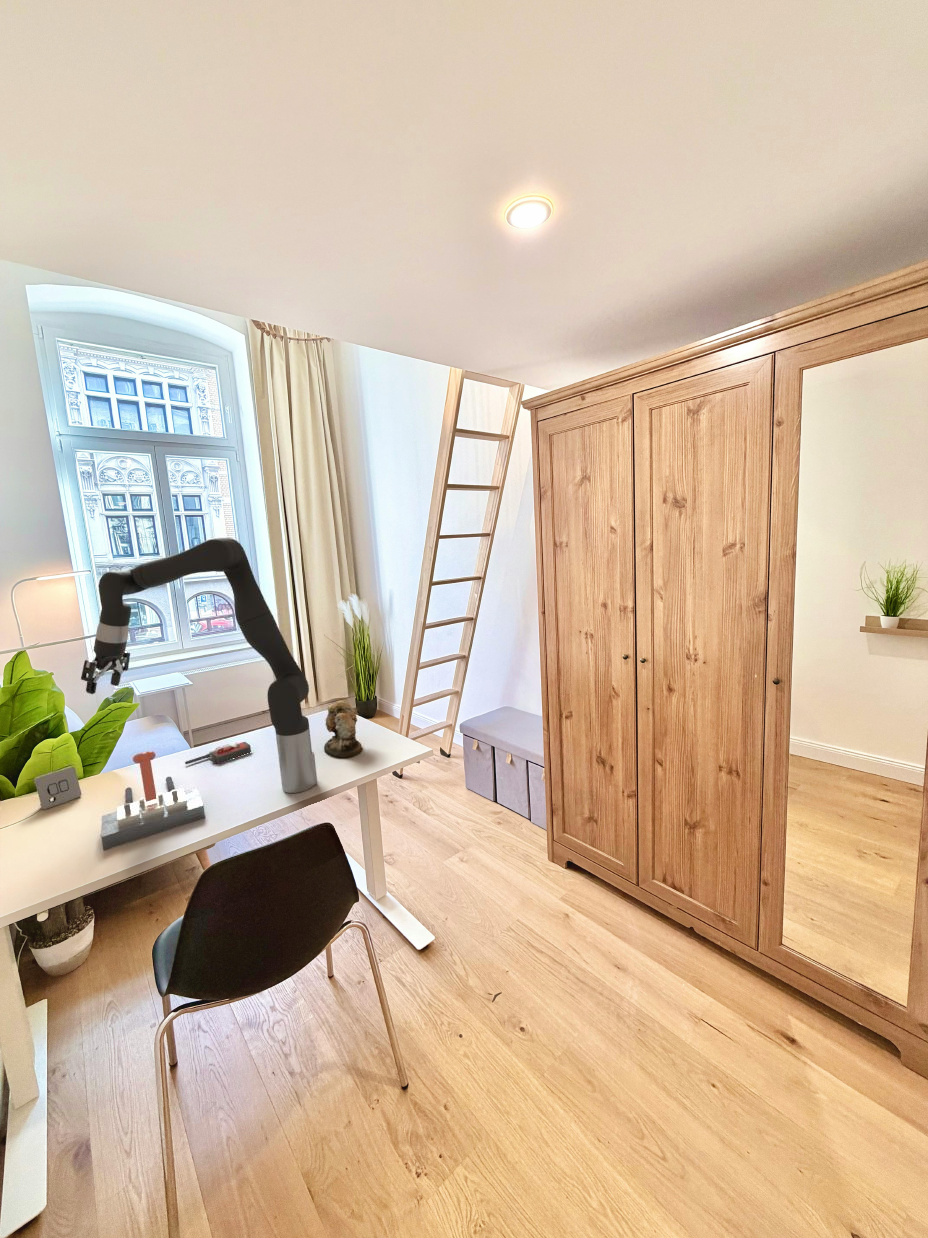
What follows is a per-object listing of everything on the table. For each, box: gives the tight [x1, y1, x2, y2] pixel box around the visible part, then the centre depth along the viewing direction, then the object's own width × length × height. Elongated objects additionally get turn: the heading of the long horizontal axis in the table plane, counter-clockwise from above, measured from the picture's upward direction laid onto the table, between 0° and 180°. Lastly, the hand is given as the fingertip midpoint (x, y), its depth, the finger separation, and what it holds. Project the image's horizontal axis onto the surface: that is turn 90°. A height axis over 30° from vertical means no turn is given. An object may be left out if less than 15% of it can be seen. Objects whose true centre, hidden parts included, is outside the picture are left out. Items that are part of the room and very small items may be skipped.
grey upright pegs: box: [125, 776, 175, 804], centre depth 144 cm, size 13×20×3 cm, turn 35°
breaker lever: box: [132, 750, 157, 802], centre depth 130 cm, size 5×2×12 cm, turn 125°
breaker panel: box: [100, 788, 206, 851], centre depth 130 cm, size 22×12×8 cm, turn 125°
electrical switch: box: [33, 766, 82, 810], centre depth 145 cm, size 9×5×9 cm, turn 141°
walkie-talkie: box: [184, 741, 252, 765], centre depth 169 cm, size 9×4×20 cm
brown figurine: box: [323, 700, 363, 759], centre depth 171 cm, size 18×12×17 cm, turn 38°
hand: (102, 689), depth 147 cm, fingers open, 8 cm apart
